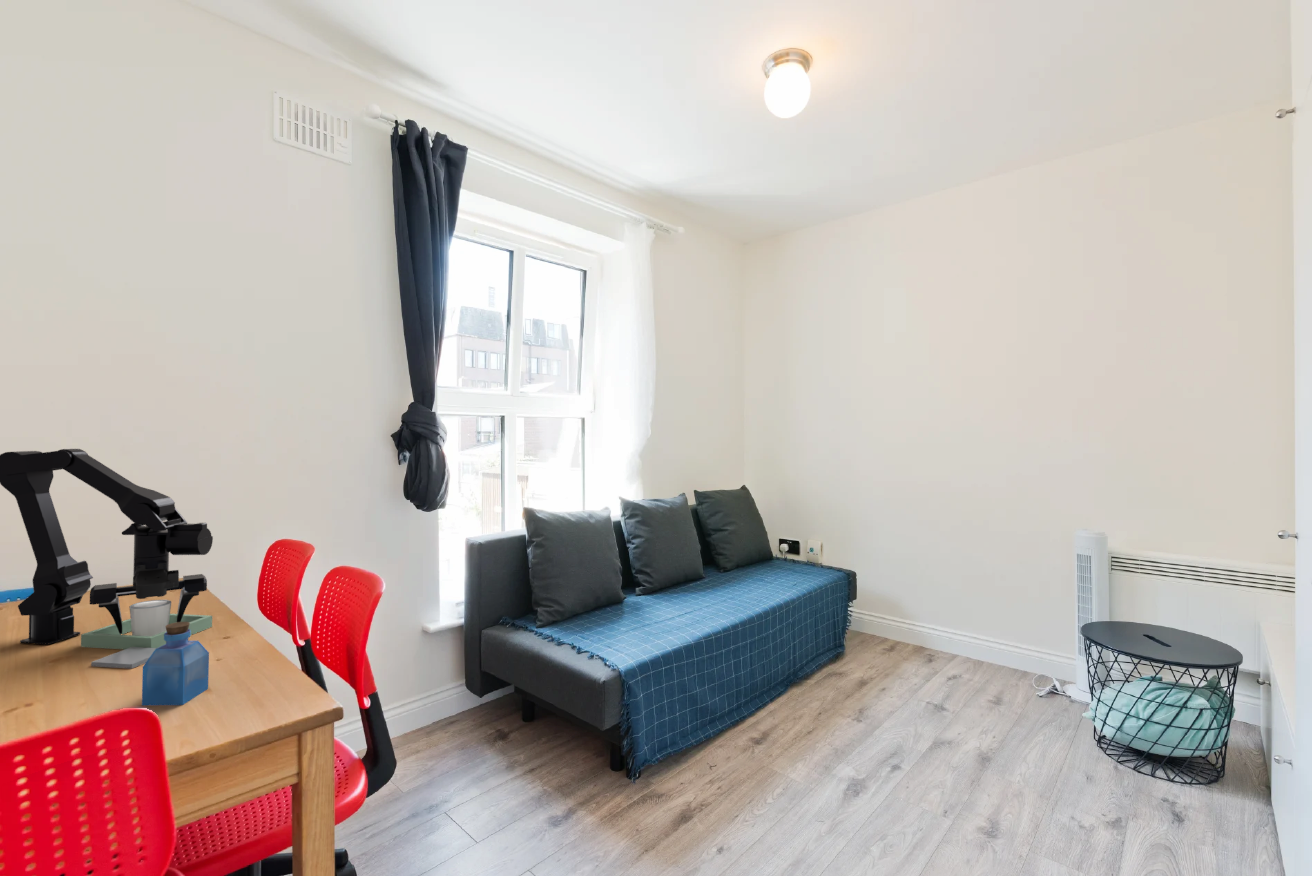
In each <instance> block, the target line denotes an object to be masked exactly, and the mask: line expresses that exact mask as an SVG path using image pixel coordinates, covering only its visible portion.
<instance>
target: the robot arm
mask: <svg viewBox="0 0 1312 876" xmlns="http://www.w3.org/2000/svg"><path fill="white" fill-rule="evenodd" d="M58 470H64V471H65V472H67V473H69V474H71V475H72V476H73V477H76V478H77V479H78V480H80V481H82V482H83V483H85V484H86V485H88V486H90V487H91V488H93V489H94V490H96V491H98V492H100V493H101V494H103V495H104V496H106V497H108V498H109V499H110V500H112V501H113V502H114V503H116V504H117V506H118V508H119V511H121V513H122V514H123V515H125V516H126V518H128V519H129V520H130V521H131V522H132V523H131V524H130V525H129V526H128V527H127V528H126V529H124V530H123V531H122V532H121V535H123V536H133V570H132V571H133V574H132V575H133V576H132V585H128V586H127V585H126V586H118V583H117V582H112V583H107V584H105V583H104V584H95V585H94V586H93V587H91V582H92V581H91V580H92V579H94V577H93V575H91V573H90V570H89V563H88V562H87V560H82V561H77V560H76V559H75V558H73V557H72V556H71V554H70V552H69V549H68V545H67V542H66V540H65V536H64V533H63V530H62V527H61V524H60V521H59V518H58V514H57V512H56V508H55V506H54V502H53V499H52V496H51V493H50V488H51V484H52V482H53V479H54V471H58ZM0 486H1V487H3V488H4V489H5V490H6V491H8V492H9V493H10V494H11V495H12V496H14V498H15V500H16V503H17V506H18V509H19V513H20V515H21V519H22V522H23V525H24V527H25V531H26V534H27V538H28V540H29V542H30V546H31V548H32V552H33V555H34V559H35V561H36V567H35V571H34V574H33V578H32V588H33V589H32V590H33V593H31V594H30V595H29V596H28V597H27V598H25V599H24V600H23V601H22V602H21V603H19V604H18V605H17V608H18V611H19V614H20V615H21V616H29V617H28V637H27V638H25V639H20V641H19V643H20V642H21V643H20V644H29V643H35V644H34V645H51V644H54V643H58V642H61V641H64V640H67V639H70V638H73V637H76V636H81V631H75V616H74V607H72V606H74V605H78V604H80V603H81V601H82V599H83V597H84V595H85V594H86V593H87V592H88V590H89V589H90V591H89V605H94V606H95V605H98V608H105V609H106V610H107V611H108V613H109V614H110V615H111V617H112V619H113V622H114V624H116V626H117V629H118V631H119V633H120V634H122V626H123V625H122V621H123V619H122V612H121V605H120V598H119V597H125V596H134V595H135V598H136V599H137V600H145V599H147V598H153V597H157V598H160V597H162V598H163V597H164V596H166V595H167V594H168V591H177V590H178V591H179V590H180V594H179V598H178V599H179V601H178V606H177V612H176V614H177V622H181V619H182V617H183V614H185V611H186V608H187V607H188V605H189V604H190V602H191V600H192V599H193V598H194V597H197V596H199V595H200V592H206V591H207V590H208V580H207V577H206V575H204V574H203V573H200V574H191V575H190V574H189V575H183V577H182V580H179V579H180V575H179V574H180V573H179V571H180V570H179V569H174V570H170V569H169V566H170V565H169V563H170V561H169V560H170V554H171V555H172V556H205V555H207V554H208V553H209V552H210V551H211V548H212V546H213V542H214V541H213V539H214V538H213V537H214V536H212V533H211V531H210V529H209V528H208V523H207V522H197V523H188V521H187V520H186V519H185V518H184V517H183V515H182V514H181V512H179V511H178V508H176V505H175V503H176V502H175V500H174V499H173V498H171V497H170V496H168V495H166V494H164V493H162V492H159V491H156V490H153V489H151V488H146V487H143V486H140V485H137V484H135V483H133V482H132V481H130V480H128V479H127V478H125V476H122V475H121V474H119V473H118V472H116V471H114V470H113V469H111V468H110V467H108V466H106V465H105V464H103V463H101V462H100V461H99V460H98V459H96V458H94V457H93V456H91V455H89V454H88V452H87V451H86V450H84V449H80V448H63V449H62V448H61V449H59V450H54V451H46V452H42V451H41V450H40V451H39V450H22V451H6V452H3V453H0ZM117 586H118V587H117ZM122 635H123V634H122Z"/></svg>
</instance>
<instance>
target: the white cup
mask: <svg viewBox="0 0 1312 876" xmlns="http://www.w3.org/2000/svg"><path fill="white" fill-rule="evenodd" d="M171 608H172V600H169V599H153V600H152V599H151V600H146V601H145V600H144V601H140V602H136V603H133V604H131V605H130V606H129V615H130V618H129V619H131V628H132V631H131V635H135V636H153V635H156V634H159V633H162V632H164V631H166V627H165V626H166V625H168V624H169V617H170V614H171Z"/></svg>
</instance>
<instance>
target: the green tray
mask: <svg viewBox="0 0 1312 876" xmlns="http://www.w3.org/2000/svg"><path fill="white" fill-rule="evenodd" d="M176 622H177V613H170V617H169V624H171V623H176ZM181 622H189V623H190V624H189V628H188V629H190V630H191V636H193V635H195V634H197V632H198V633H200V632H203V631H205V630H209V629H210V627H211V628H213V615H208V614H207V615H204V614H203V615H202V614H186V613H184V614H183V617H182V619H181ZM122 625H123V626H122V635H121V634H120V633H119V631H118V629H117V626H116V624H115V623H113V624H109V625H107V626H103V627H101V628H96V629H94V630H91V631H87V632H84V633H82V634H81V633H80V647H81V648H92V649H93V648H97V649H111V650H112V649H113V650H114V649H115V650H125V649H128V648H130V647H144V648H159V647H161V646H163V645H165V644H166V641H165V640H164V633H166V632H167V631H164V632H162V633H159V634H156V635H153V636H135V635H132V634H128V633H132V628H131V618H129V619H126V620H122ZM127 632H128V633H127ZM192 634H193V635H192Z"/></svg>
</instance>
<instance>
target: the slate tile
mask: <svg viewBox="0 0 1312 876" xmlns="http://www.w3.org/2000/svg"><path fill="white" fill-rule="evenodd" d="M155 649H157V648H144V647H130V648H128V649H121V650H120V651H118V652H114V653H111V654H109V655H106V656H103V657H101V658H98V659H96V660H94V661H93V660H92V661H91V662H90V663H91V665H90V666H91V667H96V668H116V669H134V668H136V667H140V666H141V665H145V663H146V662H147V660H148V659H149V658H150V656H151V655H152V653H153V652H154V651H155Z"/></svg>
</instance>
